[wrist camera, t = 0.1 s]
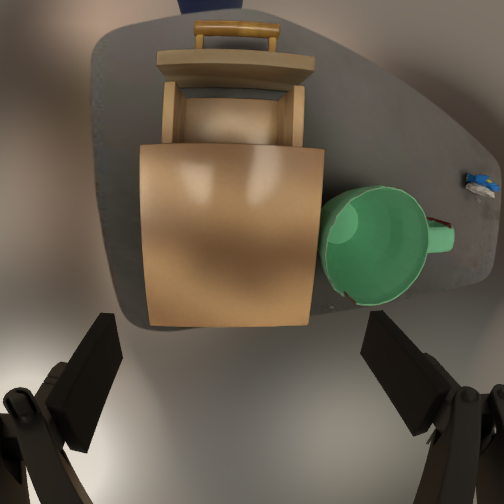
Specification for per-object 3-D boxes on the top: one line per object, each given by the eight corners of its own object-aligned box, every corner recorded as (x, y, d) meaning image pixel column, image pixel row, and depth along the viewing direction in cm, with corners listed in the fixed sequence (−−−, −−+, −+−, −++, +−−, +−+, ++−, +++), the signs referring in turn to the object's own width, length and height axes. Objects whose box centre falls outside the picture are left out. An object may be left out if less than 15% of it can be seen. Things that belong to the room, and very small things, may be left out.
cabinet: (165, 148, 28) (139, 144, 18) (293, 151, 29) (324, 149, 20) (168, 279, 32) (150, 325, 23) (285, 279, 33) (308, 325, 24)
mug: (294, 269, 33) (322, 314, 23) (291, 177, 30) (323, 187, 20) (408, 256, 34) (459, 288, 24) (412, 175, 31) (470, 186, 21)
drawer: (176, 40, 23) (163, 5, 16) (292, 44, 25) (314, 12, 17) (169, 202, 28) (151, 218, 21) (286, 204, 30) (308, 220, 22)
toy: (480, 180, 32) (506, 186, 27) (475, 204, 33) (500, 212, 28) (459, 169, 31) (485, 173, 26) (454, 194, 32) (480, 201, 27)
